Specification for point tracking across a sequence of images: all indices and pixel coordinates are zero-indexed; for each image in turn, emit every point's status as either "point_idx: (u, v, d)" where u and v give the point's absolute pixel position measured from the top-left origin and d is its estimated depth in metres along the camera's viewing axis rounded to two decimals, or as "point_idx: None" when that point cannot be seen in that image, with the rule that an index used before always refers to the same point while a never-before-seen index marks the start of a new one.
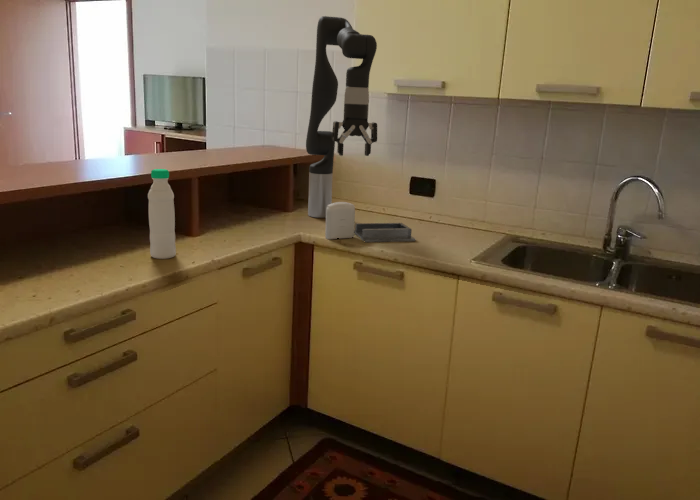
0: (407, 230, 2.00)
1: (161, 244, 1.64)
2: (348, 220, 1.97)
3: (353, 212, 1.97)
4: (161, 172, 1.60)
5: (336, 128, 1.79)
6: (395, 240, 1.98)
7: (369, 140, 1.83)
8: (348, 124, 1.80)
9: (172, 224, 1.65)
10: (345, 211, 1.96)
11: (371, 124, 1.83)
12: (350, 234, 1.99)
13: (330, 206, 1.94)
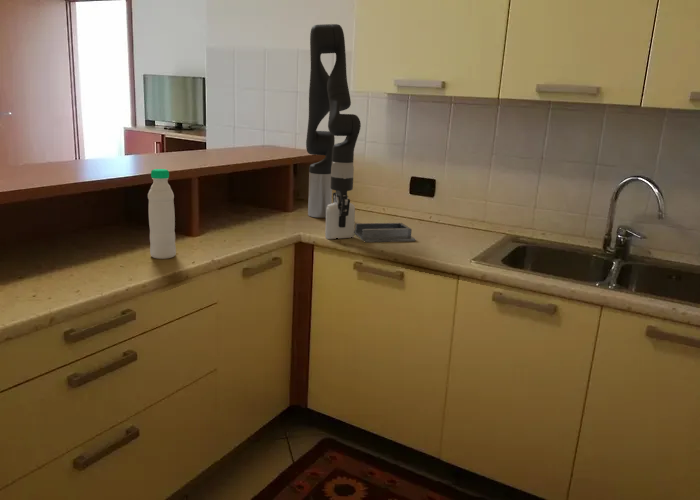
0: (407, 230, 2.00)
1: (161, 244, 1.64)
2: (348, 220, 1.97)
3: (353, 212, 1.97)
4: (161, 172, 1.60)
5: None
6: (395, 240, 1.98)
7: None
8: None
9: (172, 224, 1.65)
10: None
11: None
12: (350, 234, 1.99)
13: (330, 206, 1.94)
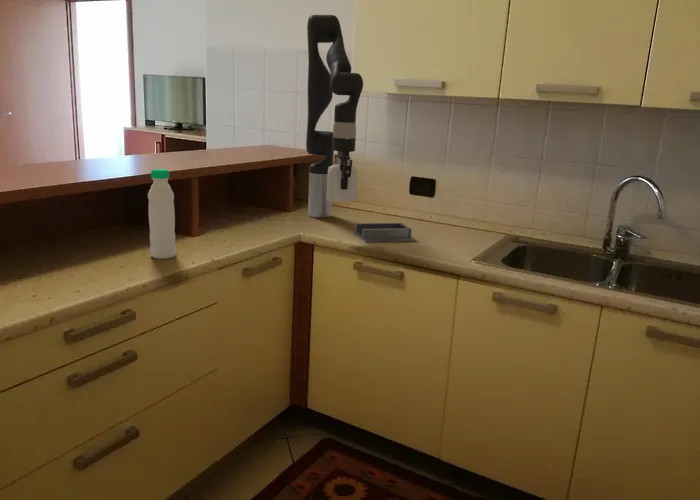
0: (407, 230, 2.00)
1: (161, 244, 1.64)
2: (350, 182, 1.94)
3: (355, 174, 1.94)
4: (161, 172, 1.60)
5: None
6: (395, 240, 1.98)
7: None
8: None
9: (172, 224, 1.65)
10: None
11: None
12: (352, 197, 1.96)
13: (332, 167, 1.91)
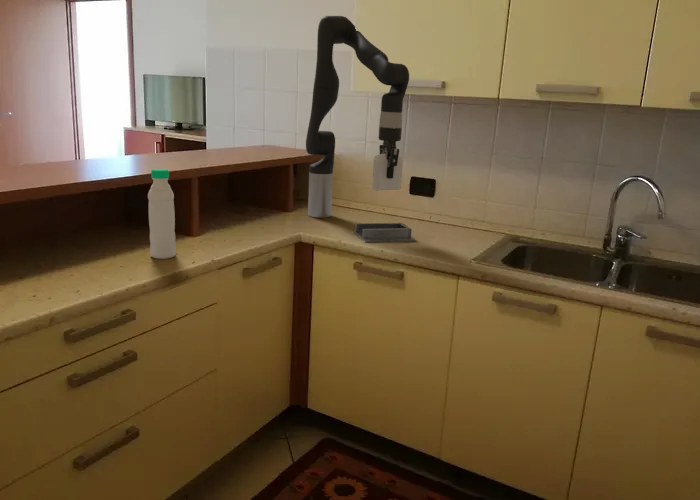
0: (407, 230, 2.00)
1: (161, 244, 1.64)
2: (396, 171, 1.97)
3: (400, 163, 1.97)
4: (161, 172, 1.60)
5: None
6: (395, 240, 1.98)
7: None
8: None
9: (172, 224, 1.65)
10: None
11: None
12: (397, 186, 1.99)
13: (378, 157, 1.94)
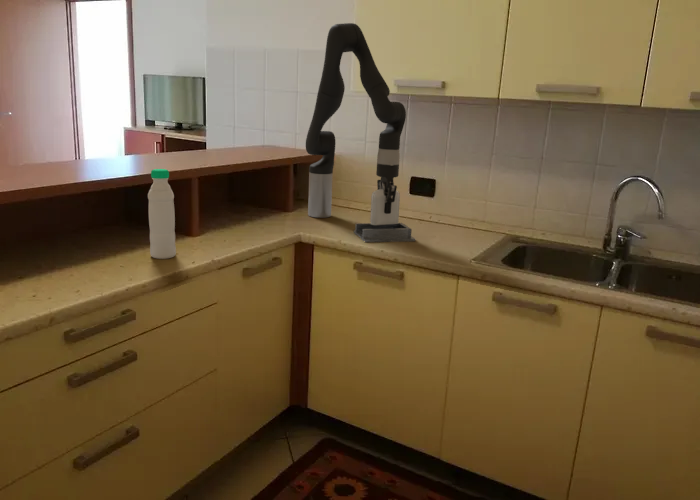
0: (407, 230, 2.00)
1: (161, 244, 1.64)
2: (393, 206, 2.00)
3: (398, 199, 2.00)
4: (161, 172, 1.60)
5: None
6: (395, 240, 1.98)
7: None
8: None
9: (172, 224, 1.65)
10: None
11: None
12: (394, 220, 2.02)
13: (376, 192, 1.97)
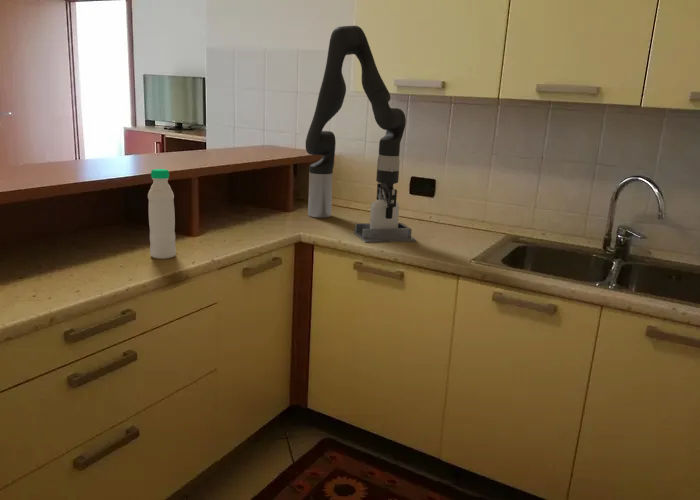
0: (407, 230, 2.00)
1: (161, 244, 1.64)
2: (392, 217, 2.01)
3: (397, 209, 2.01)
4: (161, 172, 1.60)
5: None
6: (395, 240, 1.98)
7: None
8: None
9: (172, 224, 1.65)
10: None
11: None
12: None
13: (375, 203, 1.99)
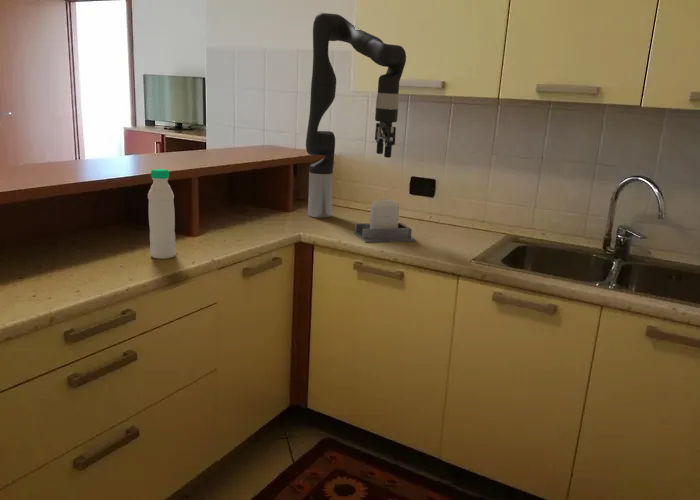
0: (407, 230, 2.00)
1: (161, 244, 1.64)
2: (392, 217, 2.01)
3: (397, 209, 2.01)
4: (161, 172, 1.60)
5: None
6: (395, 240, 1.98)
7: None
8: None
9: (172, 224, 1.65)
10: (390, 208, 2.00)
11: None
12: None
13: (375, 203, 1.99)
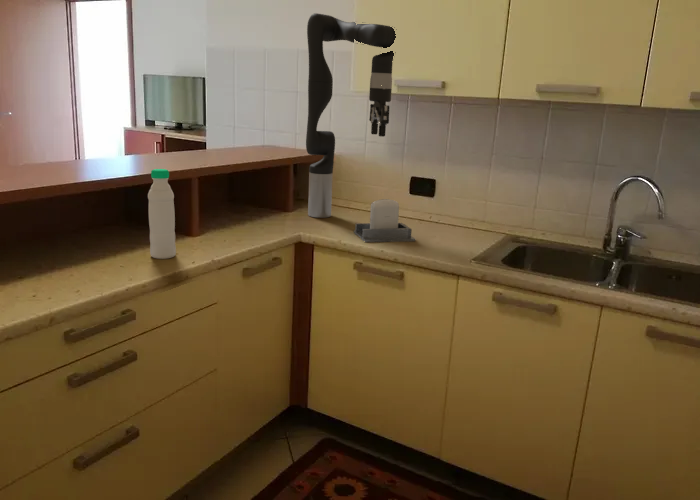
0: (407, 230, 2.00)
1: (161, 244, 1.64)
2: (392, 217, 2.01)
3: (397, 209, 2.01)
4: (161, 172, 1.60)
5: None
6: (395, 240, 1.98)
7: None
8: None
9: (172, 224, 1.65)
10: (390, 208, 2.00)
11: None
12: None
13: (375, 203, 1.99)
